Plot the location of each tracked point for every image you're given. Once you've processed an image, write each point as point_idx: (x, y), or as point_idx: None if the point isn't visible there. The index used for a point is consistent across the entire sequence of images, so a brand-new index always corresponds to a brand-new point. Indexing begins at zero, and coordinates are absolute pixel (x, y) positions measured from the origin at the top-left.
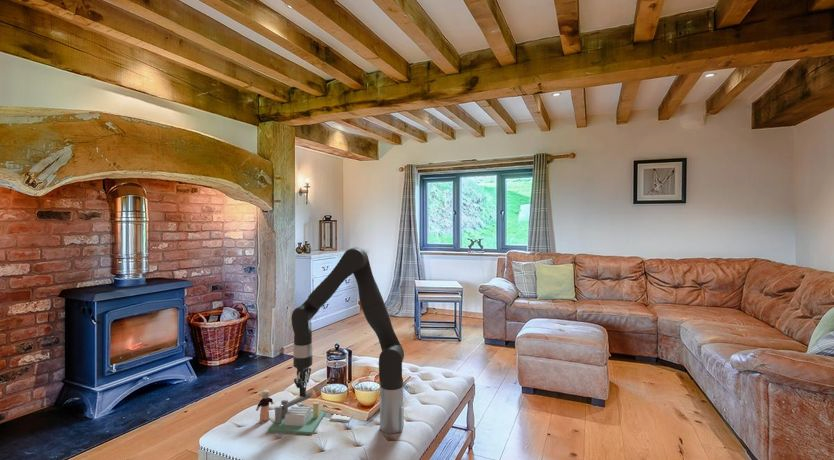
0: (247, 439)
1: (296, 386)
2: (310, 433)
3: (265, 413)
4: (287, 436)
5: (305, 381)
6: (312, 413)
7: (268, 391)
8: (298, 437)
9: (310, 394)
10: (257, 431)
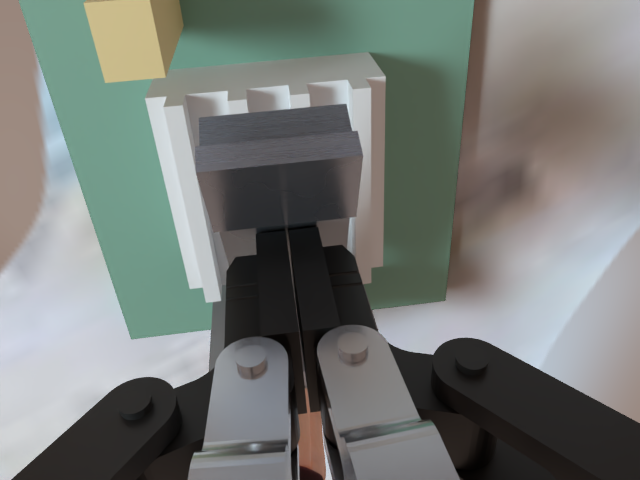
0: (526, 345)
1: (521, 467)
2: None
3: (309, 417)
4: (500, 125)
5: (439, 442)
6: (98, 78)
7: None
8: (521, 18)
9: (357, 131)
10: (433, 346)
